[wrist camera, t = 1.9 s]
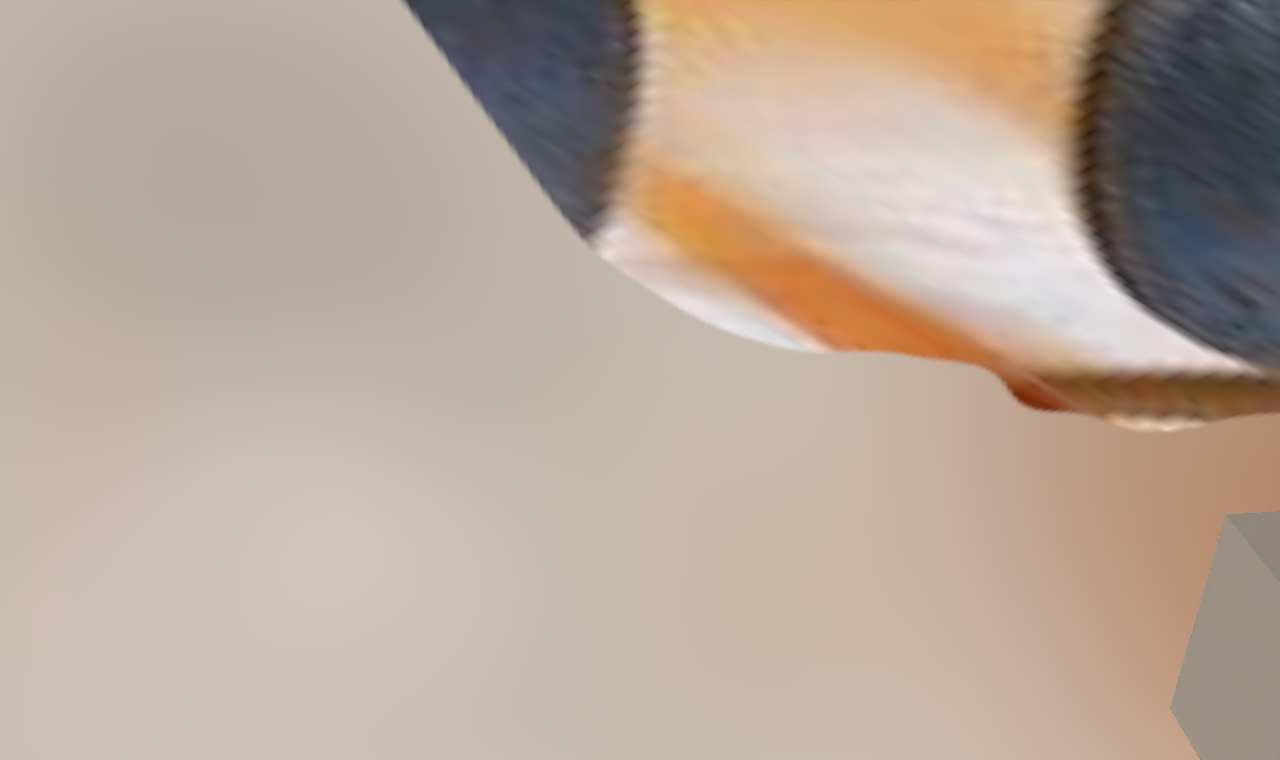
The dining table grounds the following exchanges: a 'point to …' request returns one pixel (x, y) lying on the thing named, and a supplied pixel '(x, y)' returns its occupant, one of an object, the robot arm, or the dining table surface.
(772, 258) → the dining table surface
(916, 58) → the dining table surface
